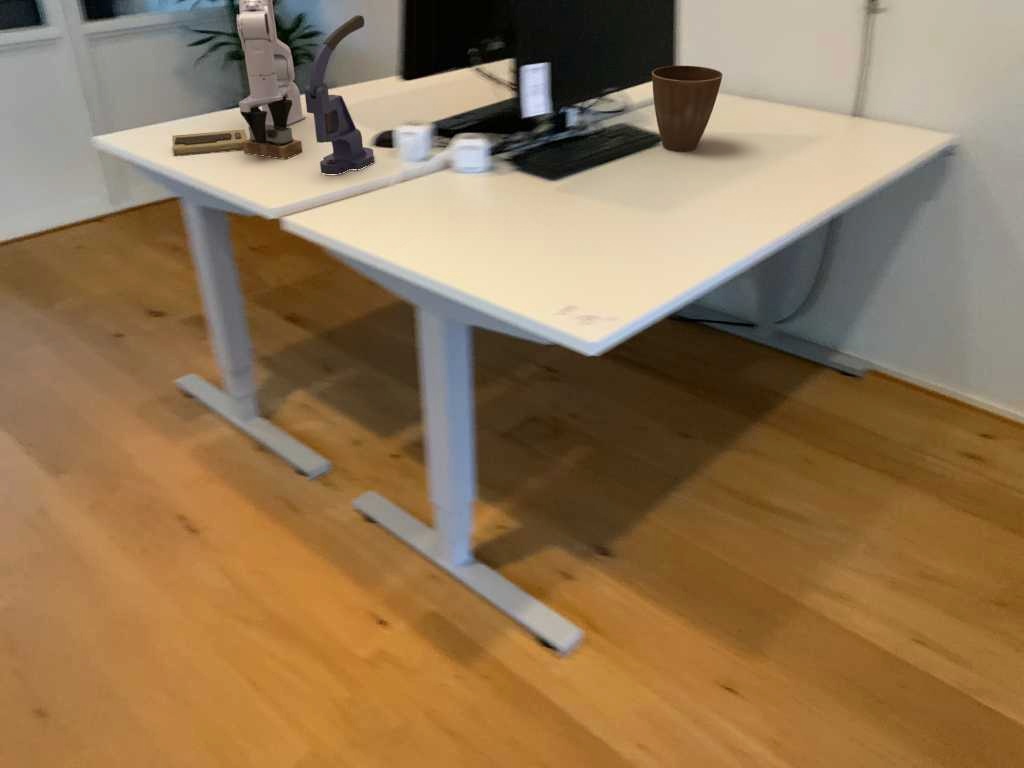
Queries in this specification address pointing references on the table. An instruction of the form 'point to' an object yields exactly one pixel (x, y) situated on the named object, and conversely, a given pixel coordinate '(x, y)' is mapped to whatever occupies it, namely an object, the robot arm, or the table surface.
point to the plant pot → (684, 103)
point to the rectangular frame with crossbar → (272, 148)
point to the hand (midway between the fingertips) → (271, 138)
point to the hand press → (335, 111)
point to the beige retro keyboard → (208, 142)
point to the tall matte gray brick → (276, 135)
